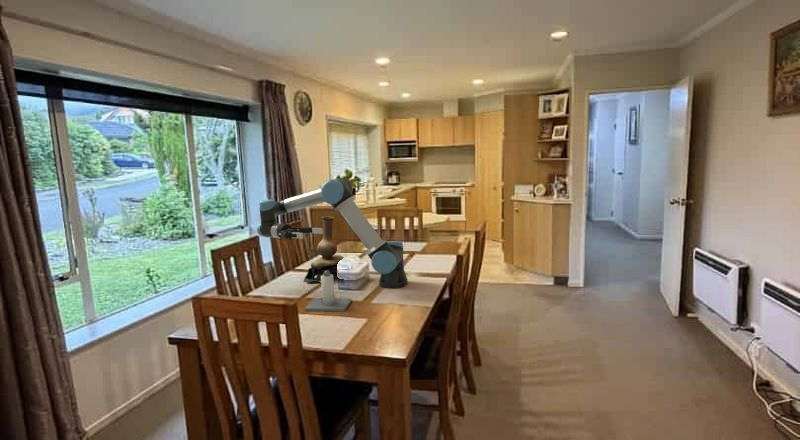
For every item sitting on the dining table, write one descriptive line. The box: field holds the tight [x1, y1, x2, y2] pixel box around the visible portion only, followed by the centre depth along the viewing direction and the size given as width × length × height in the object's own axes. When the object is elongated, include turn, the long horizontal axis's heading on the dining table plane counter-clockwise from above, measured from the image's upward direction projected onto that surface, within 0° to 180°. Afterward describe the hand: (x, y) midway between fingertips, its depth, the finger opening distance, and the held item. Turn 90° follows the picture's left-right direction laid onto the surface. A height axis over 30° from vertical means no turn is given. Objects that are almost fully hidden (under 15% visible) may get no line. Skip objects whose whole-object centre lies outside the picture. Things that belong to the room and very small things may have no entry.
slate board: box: [304, 297, 353, 312], centre depth 195 cm, size 18×14×1 cm
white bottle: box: [320, 271, 336, 305], centre depth 194 cm, size 6×6×15 cm
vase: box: [302, 215, 345, 285], centre depth 241 cm, size 24×22×35 cm
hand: (312, 233), depth 205 cm, fingers open, 13 cm apart
